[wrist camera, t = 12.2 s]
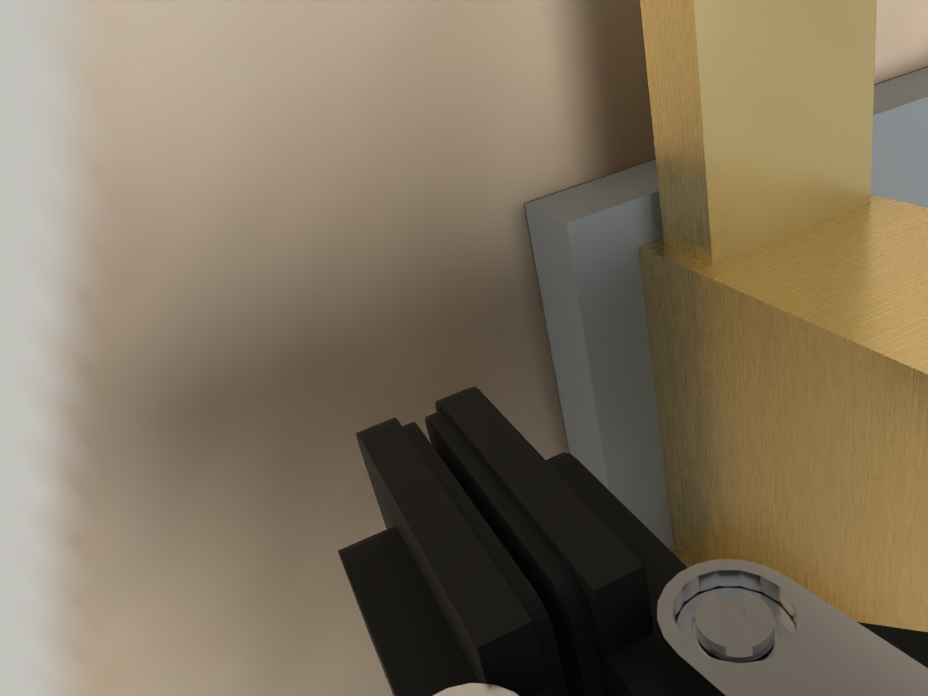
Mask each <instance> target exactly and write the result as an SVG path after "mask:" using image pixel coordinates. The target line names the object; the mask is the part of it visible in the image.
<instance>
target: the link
mask: <svg viewBox="0 0 928 696" xmlns="http://www.w3.org/2000/svg"><path fill="white" fill-rule="evenodd" d="M640 7H641V17H642V27H643V37H644V47H645V57H646V67H647V77H648V87H649V97H650V106H651V116H652V126H653V136H654V146H655V156H656V166H657V176H658V186H659V196H660V206H661V216H662V226H663V236H664V237H662V238H659V239H657V240H654V241H651V242H649V243H646V244H643V245H641V246H638V250H639V258H640V267H641V275H642V284H643V292H644V301H645V309H646V318H647V327H648V335H649V344H650V352H651V361H652V369H653V378H654V386H655V395H656V403H657V412H658V420H659V429H660V437H661V446H662V454H663V463H664V471H665V480H666V488H667V497H668V505H669V514H670V523H671V531H672V540H673V545H671V546H669V547H667V548H668V549H669V550H670V551H671V552H672V553H673V554H674V555H675V556H676V557H678V558H679V559H680V560H681V561H682V562H683V563H684V564H685V565H686V566H687V567H688V568H689V567H691V566H693V565H695V564H698V563H702V562H707V561H712V560H717V559H734V560H745V561H749V562H754V563H758V564H762V565H765V566H767V567H769V568H771V569H773V570H775V571H777V572H779V573H781V574H784V575H785V576H787V577H789V578H790V579H792V580H793V581H795V582H796V583H798V584H799V585H801V586H802V587H804V588H805V589H807V590H808V591H810V592H812V593H813V594H815V595H816V596H818V597H819V598H821V599H822V600H824V601H825V602H827V603H828V604H830V605H831V606H833V607H835V608H836V609H838V610H839V611H841V612H842V613H844V614H845V615H847V616H848V617H850V618H851V619H853V620H854V621H856V622H861V623H868V624H875V625H882V626H889V627H896V628H902V629H909V630H916V631H923V632H928V208H927V207H923V206H918V205H914V204H910V203H905V202H901V201H897V200H893V199H888V198H884V197H880V196H875V195H871V167H872V134H873V100H874V66H875V32H876V0H640Z"/></svg>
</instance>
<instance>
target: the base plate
mask: <svg viewBox="0 0 928 696" xmlns="http://www.w3.org/2000/svg"><path fill="white" fill-rule="evenodd" d="M871 195H875V196H880V197H884V198H888V199H893V200H897V201H901V202H905V203H910V204H914V205H918V206H923V207H927V208H928V67H926V68H923V69H920V70H917V71H914V72H911V73H909V74H906V75H903V76H900V77H897V78H894V79H891V80H888V81H885V82H882V83H879V84H876V85H874V100H873V134H872V167H871ZM524 205H525V210H526V216H527V221H528V227H529V232H530V238H531V243H532V249H533V254H534V260H535V265H536V271H537V276H538V282H539V287H540V293H541V298H542V304H543V309H544V315H545V320H546V326H547V331H548V337H549V342H550V348H551V354H552V359H553V365H554V370H555V376H556V381H557V387H558V392H559V398H560V403H561V409H562V414H563V420H564V425H565V431H566V436H567V442H568V447H569V453H570V454H571V455H573V456H574V457H575V458H577V459H578V460H579V461H580V462H581V463H582V464H583V465H584V466H585V467H586V468H587V469H588V470H589V471H590V472H591V473H592V474H593V475H594V476H595V477H596V478H597V479H598V480H599V481H600V482H601V483H602V484H603V485H604V486H605V487H606V488H607V489H608V490H609V491H610V492H611V493H612V494H613V495H614V496H615V497H616V498H617V499H618V500H619V501H620V502H621V503H622V504H624V505H625V506H626V507H627V508H628V509H629V510H630V511H631V512H632V513H633V514H634V515H635V516H636V517H637V518H638V519H639V520H640V521H641V522H642V523H643V524H644V525H645V526H646V527H647V528H648V529H649V530H650V531H651V532H652V533H653V534H654V535H655V536H656V537H657V538H658V539H659V540H660V541H661V542H662V543H663V544H664V545H665V546H666V547H669V546H671V545H673V540H672V531H671V523H670V514H669V505H668V497H667V488H666V480H665V471H664V463H663V454H662V446H661V437H660V429H659V420H658V412H657V403H656V395H655V386H654V378H653V369H652V361H651V352H650V344H649V335H648V327H647V318H646V309H645V301H644V292H643V284H642V275H641V267H640V258H639V250H638V246H641V245H643V244H646V243H649V242H651V241H654V240H657V239H659V238H662V237H664V236H663V226H662V216H661V206H660V196H659V186H658V176H657V166H656V159H655V160H652V161H649V162H646V163H643V164H640V165H637V166H634V167H631V168H628V169H625V170H622V171H619V172H617V173H614V174H611V175H608V176H605V177H602V178H599V179H596V180H593V181H590V182H587V183H584V184H581V185H578V186H575V187H572V188H569V189H566V190H563V191H560V192H558V193H555V194H552V195H549V196H546V197H543V198H540V199H537V200H534V201H531V202H528V203H525V204H524Z"/></svg>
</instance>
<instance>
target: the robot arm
mask: <svg viewBox="0 0 928 696" xmlns="http://www.w3.org/2000/svg"><path fill="white" fill-rule="evenodd" d="M436 412H437V413H434V414H432V415H429V416H427V417H426V418H425V422H426V427H427V430H428V434H429V438H430V441H431V443H430V442H429V441H428V439H427V438H426V436H425V435H424V434H423V432H422V431H421V429H420V428H419V427H418V425H417V424H416V423H415V422H412V423H410V424H407V425H405V426H401V424H400V423H399V421H398V420H397V419H396V418H393V419H390V420H388V421H385V422H383V423H380V424H378V425H375V426H373V427H370V428H368V429H365V430H363V431H360V432H357V433H356V436H357V440H358V444H359V447H360V450H361V453H362V456H363V459H364V462H365V465H366V468H367V471H368V474H369V477H370V480H371V483H372V486H373V489H374V492H375V495H376V498H377V501H378V504H379V507H380V510H381V513H382V516H383V519H384V522H385V525H386V528H387V530H385V531H382V532H380V533H378V534H375V535H373V536H371V537H369V538H366V539H364V540H362V541H359V542H357V543H355V544H352V545H350V546H348V547H346V548H343V549H341V550H339V551H338V552H339V555H340V558H341V560H342V563H343V566H344V568H345V571H346V574H347V576H348V579H349V582H350V584H351V587H352V590H353V592H354V595H355V597H356V600H357V603H358V605H359V608H360V611H361V613H362V616H363V618H364V621H365V624H366V626H367V629H368V631H369V634H370V637H371V639H372V642H373V644H374V647H375V649H376V652H377V655H378V657H379V660H380V662H381V665H382V667H383V670H384V672H385V675H386V678H387V680H388V683H389V685H390V688H391V690H392V693H393V695H394V696H928V632H923V631H916V630H909V629H902V628H896V627H889V626H882V625H875V624H868V623H861V622H856V621H854V620H853V619H851V618H850V617H848V616H847V615H845V614H844V613H842V612H841V611H839V610H838V609H836V608H835V607H833V606H831V605H830V604H828V603H827V602H825V601H824V600H822V599H821V598H819V597H818V596H816V595H815V594H813V593H812V592H810V591H808V590H807V589H805V588H804V587H802V586H801V585H799V584H798V583H796V582H795V581H793V580H792V579H790V578H789V577H787V576H785V575H784V574H781V573H779V572H777V571H775V570H773V569H771V568H769V567H767V566H765V565H762V564H758V563H754V562H749V561H745V560H734V559H717V560H712V561H707V562H702V563H698V564H695V565H693V566H691V567H689V568H688V567H687V566H686V565H685V564H684V563H683V562H682V561H681V560H680V559H679V558H678V557H676V556H675V555H674V554H673V553H672V552H671V551H670V550H669V549H668V548H667V547H666V546H665V545H664V544H663V543H662V542H661V541H660V540H659V539H658V538H657V537H656V536H655V535H654V534H653V533H652V532H651V531H650V530H649V529H648V528H647V527H646V526H645V525H644V524H643V523H642V522H641V521H640V520H639V519H638V518H637V517H636V516H635V515H634V514H633V513H632V512H631V511H630V510H629V509H628V508H627V507H626V506H625V505H624V504H622V503H621V502H620V501H619V500H618V499H617V498H616V497H615V496H614V495H613V494H612V493H611V492H610V491H609V490H608V489H607V488H606V487H605V486H604V485H603V484H602V483H601V482H600V481H599V480H598V479H597V478H596V477H595V476H594V475H593V474H592V473H591V472H590V471H589V470H588V469H587V468H586V467H585V466H584V465H583V464H582V463H581V462H580V461H579V460H578V459H577V458H575V457H574V456H573V455H571V454H570V453H565V452H564V453H562V454H559V455H557V456H555V457H553V458H550V459H548V460H545V459H544V458H543V457H542V456H541V455H540V454H539V453H538V452H537V451H536V450H535V449H534V448H533V447H532V445H531V444H530V443H529V442H528V441H527V440H526V439H525V438H524V437H523V436H522V435H521V434H520V433H519V432H518V431H517V430H516V429H515V427H514V426H513V425H512V424H511V423H510V422H509V421H508V420H507V419H506V418H505V417H504V416H503V415H502V414H501V413H500V412H499V411H498V409H497V408H496V407H495V406H494V405H493V404H492V403H491V402H490V401H489V400H488V399H487V398H486V397H485V396H484V395H483V394H482V393H481V391H480V390H479V389H477V388H476V387H471V388H468V389H466V390H463V391H461V392H458V393H456V394H453V395H451V396H448V397H445V398H443V399H440V400H438V401H436Z"/></svg>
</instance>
